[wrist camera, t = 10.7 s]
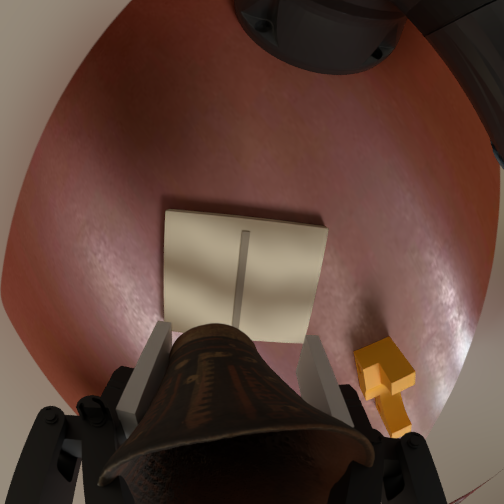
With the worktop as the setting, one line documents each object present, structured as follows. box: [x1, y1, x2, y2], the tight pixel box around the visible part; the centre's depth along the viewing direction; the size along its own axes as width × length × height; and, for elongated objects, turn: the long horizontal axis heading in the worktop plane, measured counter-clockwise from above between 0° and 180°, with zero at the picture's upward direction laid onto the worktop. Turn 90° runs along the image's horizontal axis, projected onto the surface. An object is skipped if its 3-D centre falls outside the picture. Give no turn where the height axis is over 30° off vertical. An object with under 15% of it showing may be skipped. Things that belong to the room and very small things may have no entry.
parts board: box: [164, 209, 329, 343], centre depth 24 cm, size 11×13×1 cm
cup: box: [97, 323, 375, 504], centre depth 10 cm, size 9×9×10 cm
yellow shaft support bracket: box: [354, 337, 415, 438], centre depth 26 cm, size 12×4×6 cm, turn 20°
